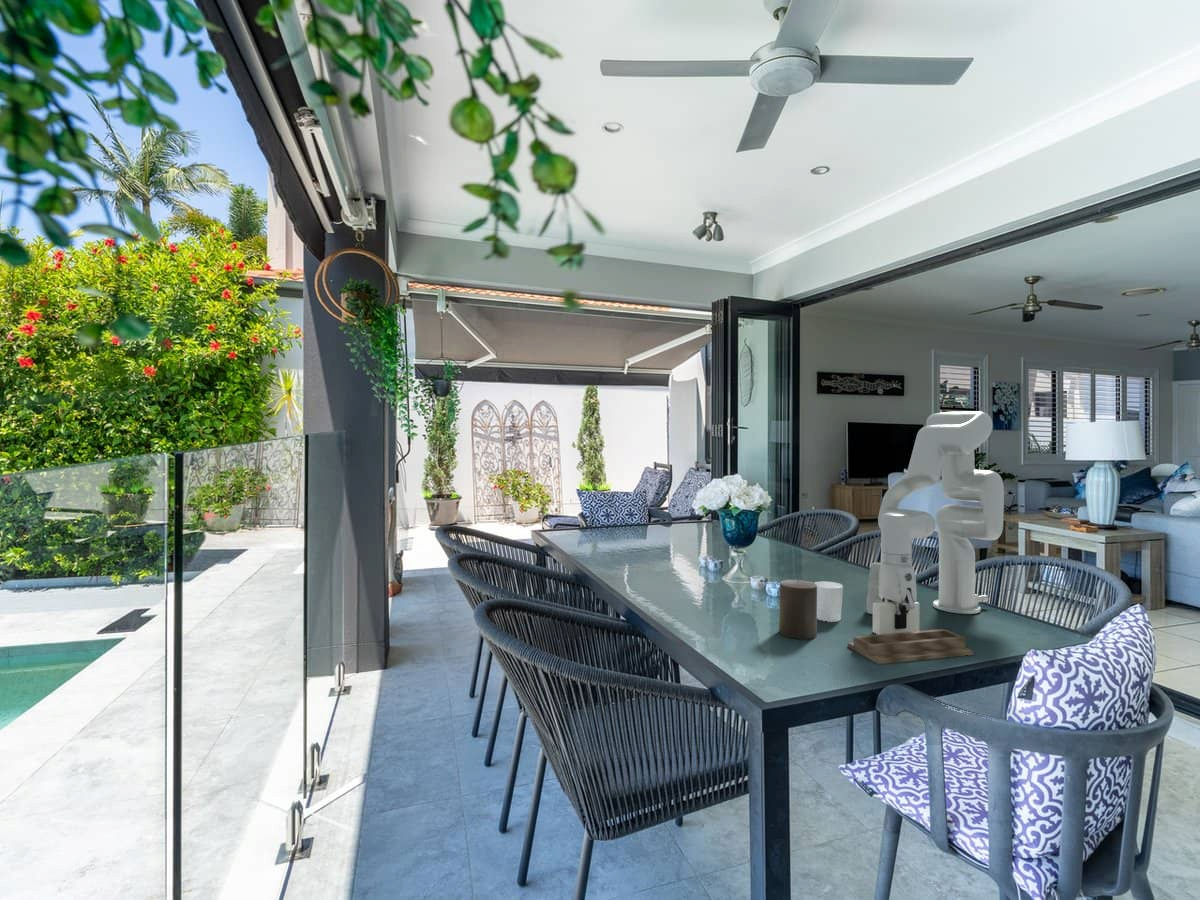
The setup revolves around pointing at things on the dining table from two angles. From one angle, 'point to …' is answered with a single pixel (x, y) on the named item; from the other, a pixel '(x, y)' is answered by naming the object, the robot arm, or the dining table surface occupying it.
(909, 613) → the white rectangular block
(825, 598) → the white cup
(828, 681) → the dining table surface
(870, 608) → the decorative stone
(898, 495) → the robot arm
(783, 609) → the pillar candle
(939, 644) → the track frame
